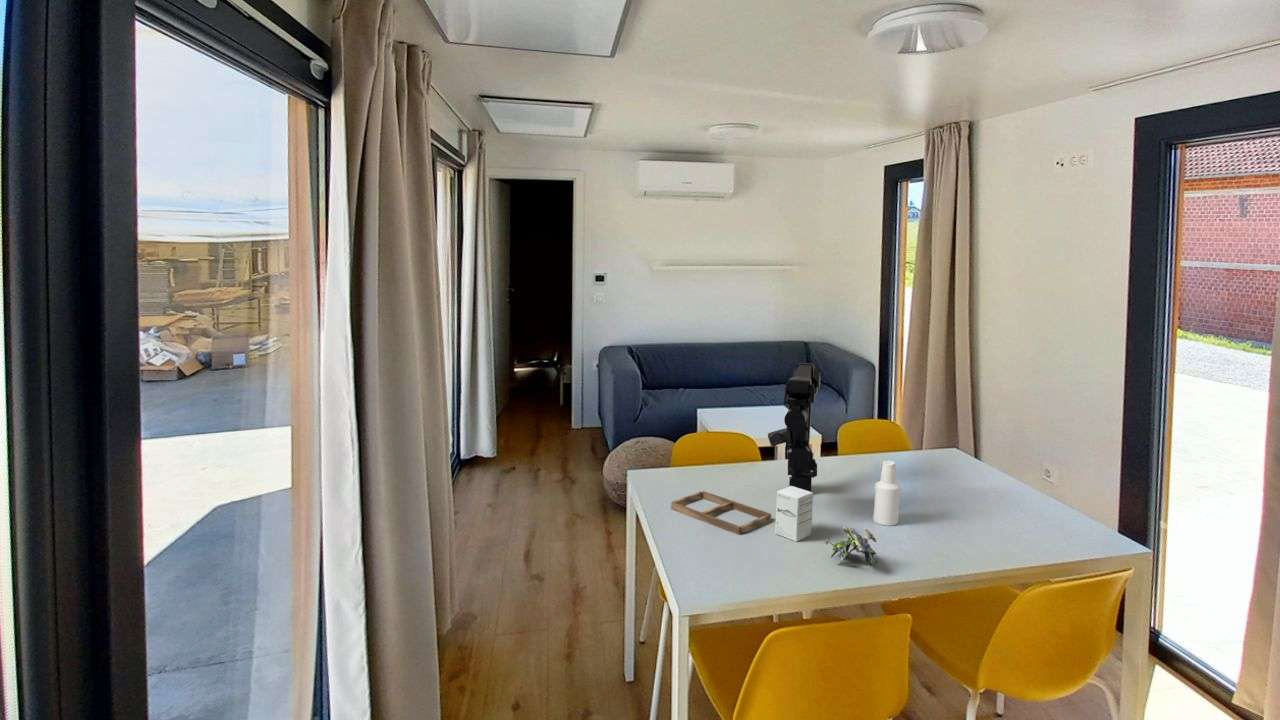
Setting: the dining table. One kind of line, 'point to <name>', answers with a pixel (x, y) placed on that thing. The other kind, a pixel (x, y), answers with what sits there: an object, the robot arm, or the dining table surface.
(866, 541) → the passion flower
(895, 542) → the dining table surface
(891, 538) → the dining table surface
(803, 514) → the supplement box
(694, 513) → the wooden compartment frame
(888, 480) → the spray bottle
